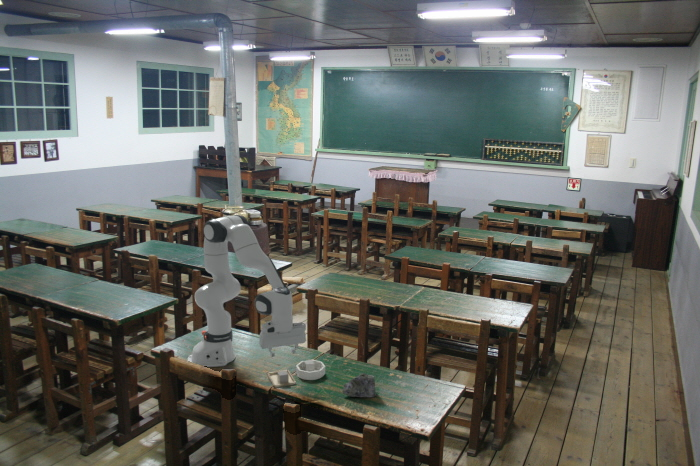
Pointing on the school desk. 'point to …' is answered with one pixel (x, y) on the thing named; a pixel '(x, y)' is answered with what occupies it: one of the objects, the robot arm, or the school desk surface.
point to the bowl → (311, 375)
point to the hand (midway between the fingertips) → (283, 354)
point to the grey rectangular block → (282, 377)
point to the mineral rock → (360, 386)
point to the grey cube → (309, 366)
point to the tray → (274, 382)
